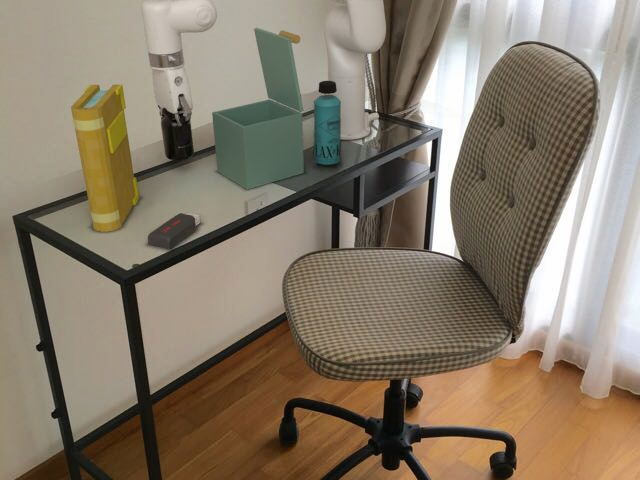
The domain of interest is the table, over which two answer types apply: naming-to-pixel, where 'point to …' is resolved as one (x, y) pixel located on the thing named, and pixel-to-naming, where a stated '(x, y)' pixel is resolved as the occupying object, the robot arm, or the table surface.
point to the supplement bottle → (174, 138)
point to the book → (105, 155)
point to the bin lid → (279, 67)
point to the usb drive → (174, 230)
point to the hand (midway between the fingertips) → (177, 136)
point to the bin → (258, 143)
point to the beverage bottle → (327, 125)
